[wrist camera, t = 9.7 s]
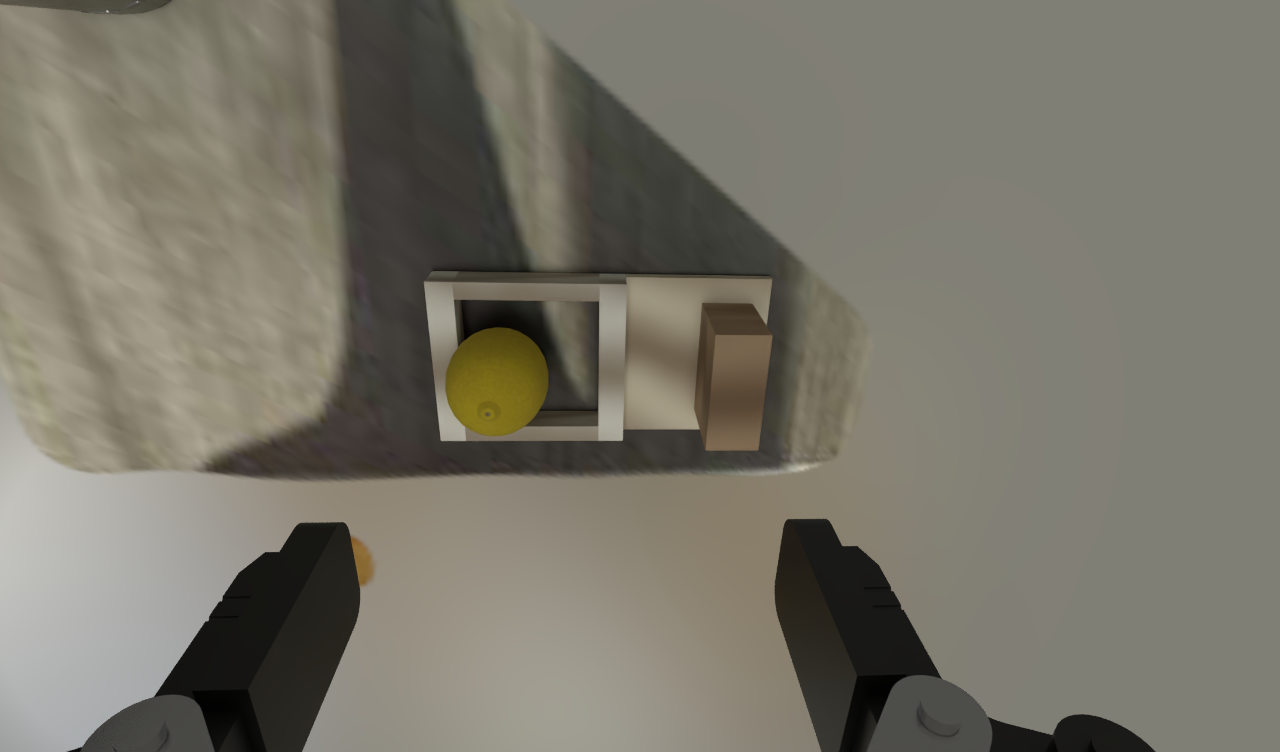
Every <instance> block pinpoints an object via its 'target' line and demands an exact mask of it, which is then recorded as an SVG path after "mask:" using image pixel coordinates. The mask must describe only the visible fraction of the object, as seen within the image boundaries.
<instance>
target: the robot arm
mask: <svg viewBox="0 0 1280 752" xmlns="http://www.w3.org/2000/svg"><path fill="white" fill-rule="evenodd" d="M168 1H170V0H0V4H2V5H14V6H26V7H38V8H50V9H62V10H75V11H81V12H87V13H100V14H111V13H112V14H133V13H144V12H147V11H149V10H152V9H155V8H158V7H161V6H163V5H164V4H166V3H167V2H168ZM775 604H776V611H777V615H778V619H779V622H780V625H781V628H782V631H783V634H784V637H785V640H786V643H787V647H788V649H789V653H790V655H791V659H792V662H793V665H794V668H795V671H796V674H797V677H798V680H799V683H800V687H801V690H802V693H803V696H804V698H805V702H806V705H807V708H808V711H809V714H810V717H811V720H812V723H813V726H814V730H815V733H816V736H817V739H818V742H819V745H820V748H821V751H822V752H1155V751H1154V750H1153V749H1152V748H1151V747H1150V746H1149V745H1148V744H1147V743H1146V742H1144V741H1143V740H1142V739H1141V738H1140V737H1138V736H1137V735H1135V734H1134V733H1132V732H1131V731H1129V730H1128V729H1126V728H1124V727H1122V726H1120V725H1118V724H1116V723H1114V722H1112V721H1110V720H1107V719H1103V718H1101V717H1097V716H1092V715H1084V714H1082V715H1072V716H1068V717H1066V718H1064V719H1062V720H1061V721H1060V722H1059V723H1058V725H1057V727H1056V729H1055V731H1054V733H1053V735H1050V734H1045V733H1042V732H1038V731H1034V730H1030V729H1026V728H1022V727H1018V726H1014V725H1010V724H1006V723H1003V722H1000V721H997V720H994V719H992V718H989V717H987V715H986V713H985V711H984V710H983V709H982V708H981V706H980V705H979V704H978V703H977V702H976V700H975V699H974V698H973V697H971V696H970V695H969V694H968V693H967V692H965V691H964V690H962V689H961V688H959V687H958V686H956V685H954V684H952V683H950V682H948V681H946V680H943V679H942V678H941V677H940V675H939V673H938V671H937V669H936V667H935V666H934V664H933V662H932V660H931V658H930V657H929V655H928V653H927V651H926V650H925V648H924V646H923V644H922V642H921V641H920V639H919V637H918V635H917V633H916V631H915V630H914V628H913V626H912V624H911V622H910V621H909V619H908V617H907V615H906V613H905V612H904V610H901V604H900V603H899V601H898V599H897V597H896V595H895V594H894V592H893V591H891V587H890V584H889V583H888V581H887V579H886V577H885V576H884V574H883V572H882V570H881V568H880V566H879V565H878V564H877V563H876V562H875V561H873V560H872V559H871V558H870V557H869V556H868V555H867V554H866V553H864V552H863V551H862V550H861V549H860V548H859V547H858V546H842V545H841V543H840V541H839V539H838V537H837V535H836V533H835V531H834V529H833V527H832V525H831V523H830V522H829V520H827V519H788V520H786V522H785V524H784V528H783V534H782V540H781V547H780V553H779V560H778V566H777V573H776V579H775ZM359 606H360V587H359V581H358V575H357V570H356V565H355V559H354V554H353V549H352V543H351V538H350V533H349V529H348V527H347V525H346V524H345V523H343V522H340V523H339V522H338V523H337V522H334V523H333V522H331V523H300V524H298V525H297V526H296V527H295V528H294V530H293V531H292V533H291V534H290V536H289V538H288V539H287V541H286V543H285V544H284V546H283V547H282V549H281V550H280V552H265V553H264V554H262V555H261V556H260V557H259V558H257V559H256V560H255V561H254V562H252V563H251V564H250V565H248V566H247V567H246V568H245V569H243V570H242V571H241V572H240V573H239V574H238V575H237V576H236V578H235V579H234V581H233V582H232V584H231V585H230V587H229V588H228V590H227V591H226V593H225V594H224V595H223V600H222V602H221V601H220V602H219V603H218V604H217V606H216V607H215V609H214V610H213V612H212V613H211V614H210V616H209V621H207V622H205V623H204V625H203V626H202V628H201V629H200V630H199V632H198V633H197V635H196V636H195V638H194V639H193V641H192V642H191V644H190V645H189V647H188V648H187V649H186V651H185V653H184V654H183V655H182V657H181V658H180V660H179V661H178V663H177V664H176V665H175V667H174V668H173V670H172V671H171V673H170V674H169V676H168V677H167V679H166V680H165V682H164V683H163V685H162V686H161V687H160V689H159V690H158V692H157V693H156V695H155V696H154V697H153V698H149V699H146V700H143V701H141V702H138V703H136V704H134V705H131V706H129V707H127V708H125V709H123V710H122V711H120V712H119V713H117V714H115V715H114V716H112V717H111V718H110V719H108V720H107V721H106V722H105V723H103V724H102V725H101V726H100V727H99V728H98V729H97V730H96V731H95V732H94V733H93V734H92V735H91V736H90V737H89V738H88V740H87V741H86V743H85V744H84V746H83V747H81V748H78V749H75V750H71V751H68V752H302V750H303V748H304V746H305V743H306V741H307V738H308V736H309V734H310V731H311V729H312V726H313V724H314V721H315V719H316V717H317V715H318V712H319V710H320V707H321V705H322V703H323V700H324V698H325V696H326V693H327V691H328V688H329V686H330V684H331V681H332V679H333V677H334V674H335V672H336V669H337V667H338V665H339V662H340V660H341V657H342V655H343V653H344V650H345V648H346V646H347V643H348V641H349V638H350V636H351V633H352V631H353V629H354V626H355V624H356V621H357V617H358V613H359Z"/></svg>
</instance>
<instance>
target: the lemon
mask: <svg viewBox="0 0 1280 752" xmlns="http://www.w3.org/2000/svg"><path fill="white" fill-rule="evenodd" d="M547 390H548V368H547V365H546V361H545V358H544V356H543V354H542V352H541V351H540V349H539V347H538V346H537V345H536V344H535V343H534V342H533V341H532V340H531V339H530V338H529V337H527V336H526V335H524V334H522V333H521V332H519V331H516V330H513V329H510V328H500V327H495V328H489V329H484V330H482V331H479V332H477V333H474V334H473V335H471V336H470V337H469V338H467V339H466V340H465V341H464V342H462V343H461V344H460V346H459V347H458V348H457V350H456V351H455V352H454V354H453V355H452V357H451V360H450V362H449V365H448V368H447V371H446V381H445V392H446V396H447V401H448V405H449V407H450V409H451V411H452V412H453V414H454V416H455V417H456V418H457V420H458V421H459V422H460V423H461V424H462V425H463V426H465V427H466V428H468V429H469V430H471V431H473V432H476V433H478V434H480V435H485V436H504V435H508V434H512V433H514V432H516V431H518V430H520V429H522V428H523V427H525V426H526V425H527V424H528V423H529V422H530V421H531V420H532V419H533V418H534V417H535V416H536V414H537V413H538V411H539V410H540V408H541V406H542V405H543V403H544V401H545V397H546V393H547Z"/></svg>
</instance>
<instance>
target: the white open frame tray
mask: <svg viewBox="0 0 1280 752" xmlns="http://www.w3.org/2000/svg"><path fill="white" fill-rule="evenodd" d="M771 286H772V278H771V277H770V276H727V275H661V274H596V273H530V272H464V271H432V272H431V273H430V274H429V276H428V277H427V278H426V280H425V281H424V287H425V296H426V306H427V315H428V324H429V334H430V343H431V353H432V362H433V371H434V381H435V390H436V400H437V409H438V418H439V428H440V437H441V441H623V429H700V432H701V436H702V439H703V443H704V447H705V450H758V447H759V439H760V431H761V424H762V416H763V408H764V400H765V392H766V384H767V376H768V368H769V360H770V352H771V344H772V337H773V335H772V334H771V332H770V330H769V329H768V327H767V319H768V310H769V302H770V294H771ZM461 300H525V301H599V388H598V411H538V413H537V414H536V416H535V417H534V418H533V419H532V420H531V421H530V422H529V423H528V424H527V425H526V426H525V427H523V428H522V429H520V430H518V431H516V432H514V433H512V434H508V435H504V436H485V435H480V434H478V433H476V432H473V431H471V430H469V429H468V428H466V427H465V426H463V425H462V424H461V423H460V422H459V421H458V420H457V418H456V417H455V416H454V414H453V412H452V411H451V409H450V407H449V405H448V401H447V396H446V392H445V381H446V371H447V368H448V365H449V362H450V360H451V357H452V355H453V354H454V352H455V351H456V350H457V348H458V347H459V346H460V344H461V343H462V342H464V341H465V340H464V328H463V316H462V304H461Z"/></svg>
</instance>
